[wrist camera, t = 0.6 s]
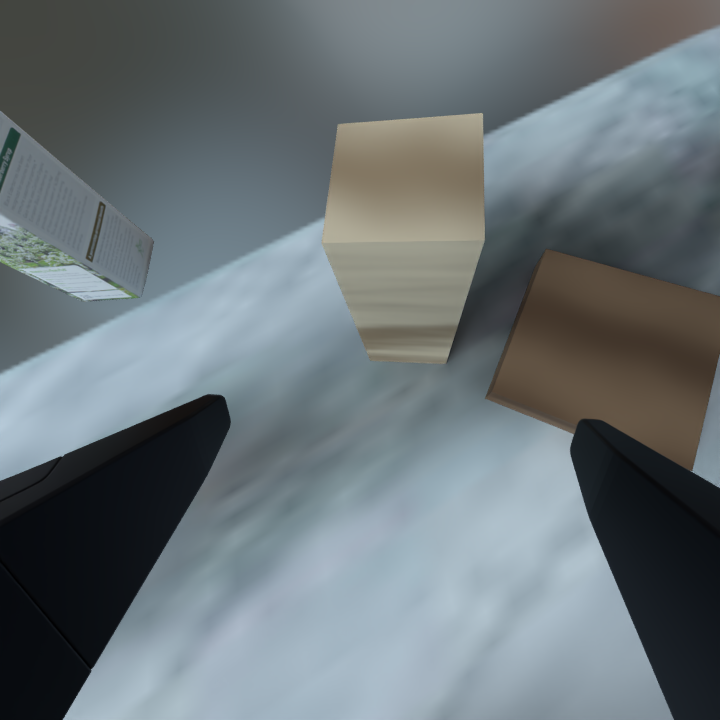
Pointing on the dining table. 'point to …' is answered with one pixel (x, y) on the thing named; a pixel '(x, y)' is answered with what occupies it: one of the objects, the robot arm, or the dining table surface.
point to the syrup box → (64, 226)
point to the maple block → (406, 230)
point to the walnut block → (612, 354)
